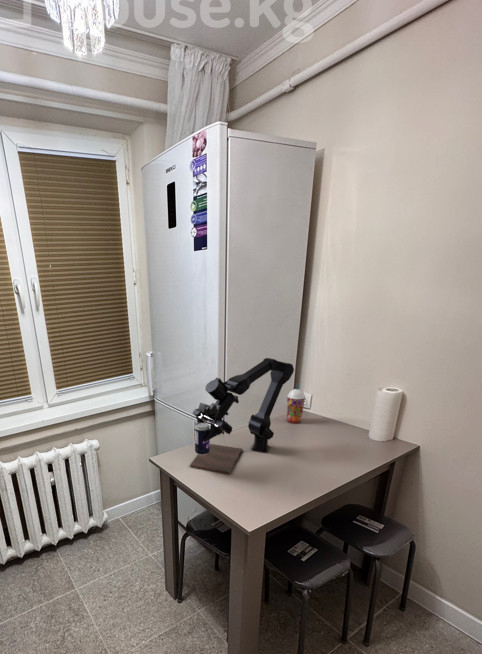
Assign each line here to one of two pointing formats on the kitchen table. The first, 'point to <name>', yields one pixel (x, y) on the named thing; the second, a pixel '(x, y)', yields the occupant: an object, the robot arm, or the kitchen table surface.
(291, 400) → the smoothie
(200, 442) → the beverage can
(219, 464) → the board
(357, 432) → the kitchen table surface
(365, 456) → the kitchen table surface
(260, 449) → the robot arm
